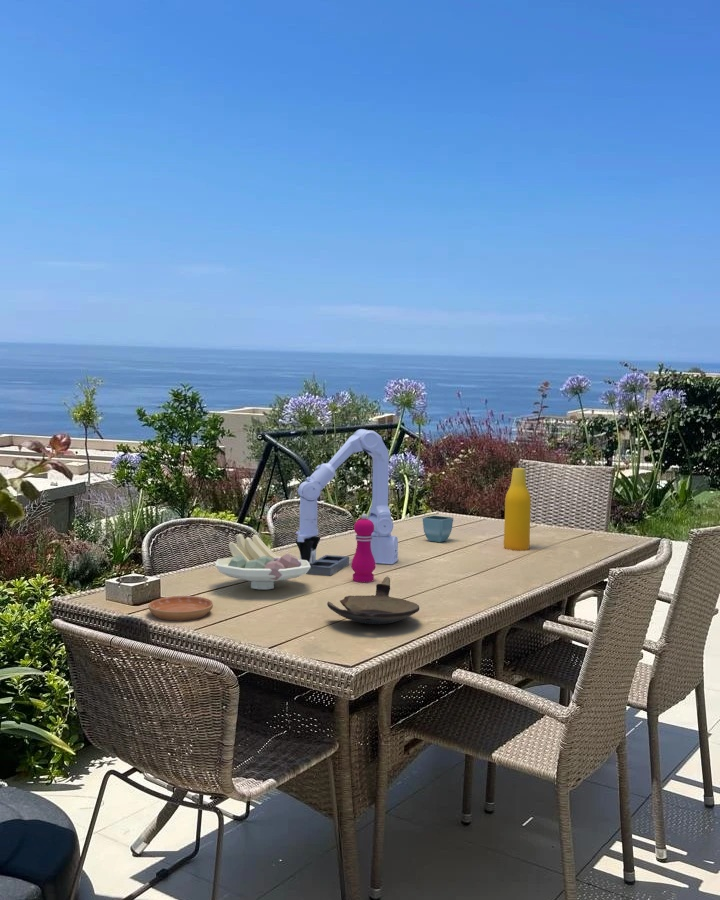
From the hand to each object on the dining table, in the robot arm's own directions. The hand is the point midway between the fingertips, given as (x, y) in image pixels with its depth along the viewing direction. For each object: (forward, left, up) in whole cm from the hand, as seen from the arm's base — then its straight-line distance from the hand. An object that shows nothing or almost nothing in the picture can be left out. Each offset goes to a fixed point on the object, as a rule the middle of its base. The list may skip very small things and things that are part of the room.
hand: (307, 560), depth 292 cm
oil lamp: (-40, +57, -2) cm, 70 cm away
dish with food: (+1, +35, -2) cm, 35 cm away
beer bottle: (-60, -56, -2) cm, 82 cm away
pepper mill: (-23, +15, -2) cm, 28 cm away
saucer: (+9, +69, -2) cm, 70 cm away
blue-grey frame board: (-8, +4, -1) cm, 9 cm away
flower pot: (-30, -60, -2) cm, 67 cm away
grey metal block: (0, 0, -1) cm, 1 cm away
